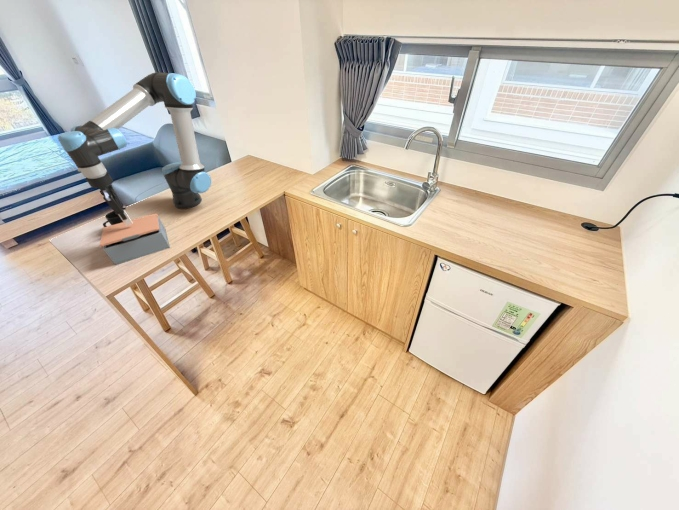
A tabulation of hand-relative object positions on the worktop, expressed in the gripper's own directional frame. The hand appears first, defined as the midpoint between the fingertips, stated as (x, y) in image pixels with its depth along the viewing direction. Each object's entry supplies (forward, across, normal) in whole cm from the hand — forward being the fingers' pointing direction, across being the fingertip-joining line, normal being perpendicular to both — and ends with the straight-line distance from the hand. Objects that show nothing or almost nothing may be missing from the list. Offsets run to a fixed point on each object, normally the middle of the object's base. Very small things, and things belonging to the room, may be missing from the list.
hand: (129, 224), depth 119 cm
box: (+13, 0, 0) cm, 13 cm away
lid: (+3, +1, 0) cm, 3 cm away
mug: (+13, -19, -8) cm, 24 cm away
